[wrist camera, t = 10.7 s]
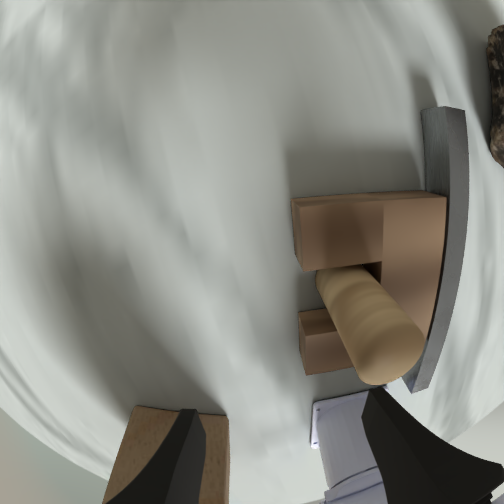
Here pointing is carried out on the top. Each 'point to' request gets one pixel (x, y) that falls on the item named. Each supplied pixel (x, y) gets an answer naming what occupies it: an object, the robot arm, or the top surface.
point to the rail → (457, 201)
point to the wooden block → (150, 438)
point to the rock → (497, 92)
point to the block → (369, 257)
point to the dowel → (370, 324)
